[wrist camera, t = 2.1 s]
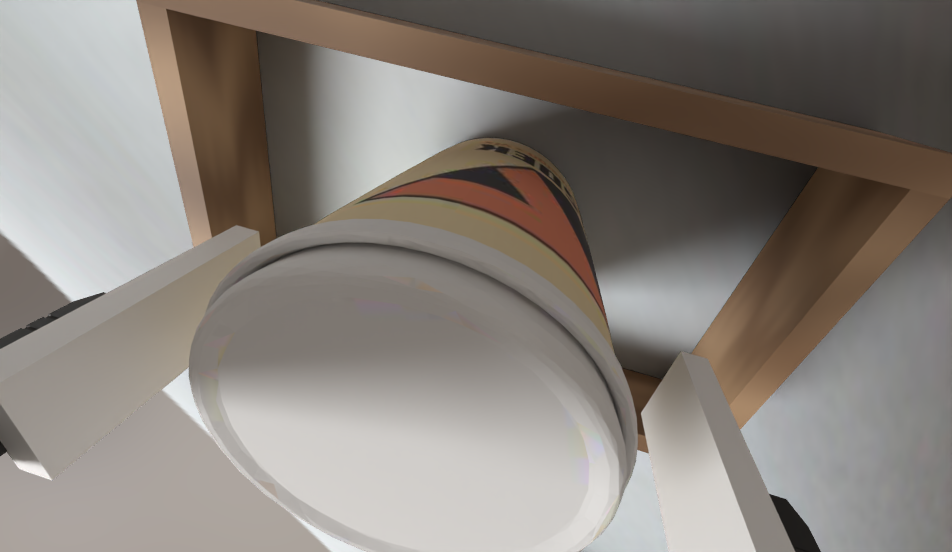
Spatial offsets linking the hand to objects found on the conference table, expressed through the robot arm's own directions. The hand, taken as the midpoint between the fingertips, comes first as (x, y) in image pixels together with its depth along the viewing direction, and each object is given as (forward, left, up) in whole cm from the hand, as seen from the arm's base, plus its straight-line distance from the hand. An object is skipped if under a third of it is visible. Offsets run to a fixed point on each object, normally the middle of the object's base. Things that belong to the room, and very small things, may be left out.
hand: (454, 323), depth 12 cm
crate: (0, 0, -7) cm, 7 cm away
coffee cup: (0, 0, -7) cm, 7 cm away
